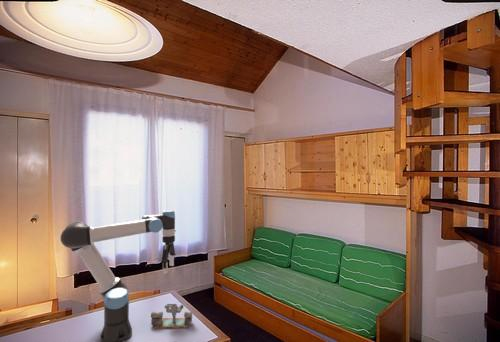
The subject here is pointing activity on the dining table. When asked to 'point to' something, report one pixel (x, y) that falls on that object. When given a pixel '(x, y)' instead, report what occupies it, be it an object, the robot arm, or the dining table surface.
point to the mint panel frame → (170, 320)
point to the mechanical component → (173, 310)
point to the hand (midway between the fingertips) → (168, 269)
